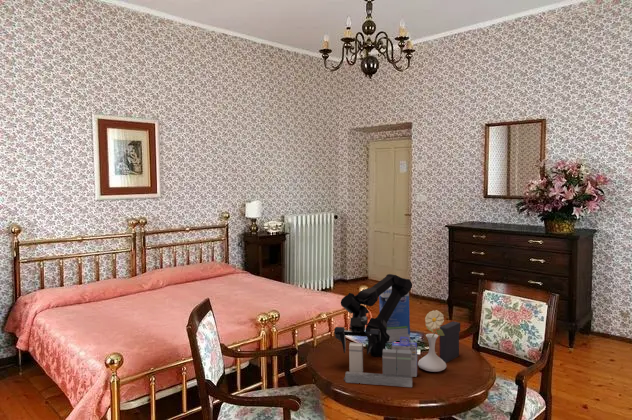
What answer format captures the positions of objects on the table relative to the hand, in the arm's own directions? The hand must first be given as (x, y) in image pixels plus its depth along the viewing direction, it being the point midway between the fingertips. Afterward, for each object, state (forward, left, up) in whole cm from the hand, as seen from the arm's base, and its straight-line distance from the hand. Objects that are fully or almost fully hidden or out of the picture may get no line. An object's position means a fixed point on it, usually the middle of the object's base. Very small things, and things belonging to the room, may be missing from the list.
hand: (355, 353), depth 190 cm
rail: (-8, +7, -8) cm, 14 cm away
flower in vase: (-31, -5, -8) cm, 33 cm away
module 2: (-13, +8, -8) cm, 17 cm away
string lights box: (-19, -40, -8) cm, 45 cm away
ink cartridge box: (-19, 0, -8) cm, 21 cm away
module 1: (0, 0, -8) cm, 8 cm away
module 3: (-18, +8, -8) cm, 22 cm away
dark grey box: (-40, -17, -8) cm, 44 cm away
